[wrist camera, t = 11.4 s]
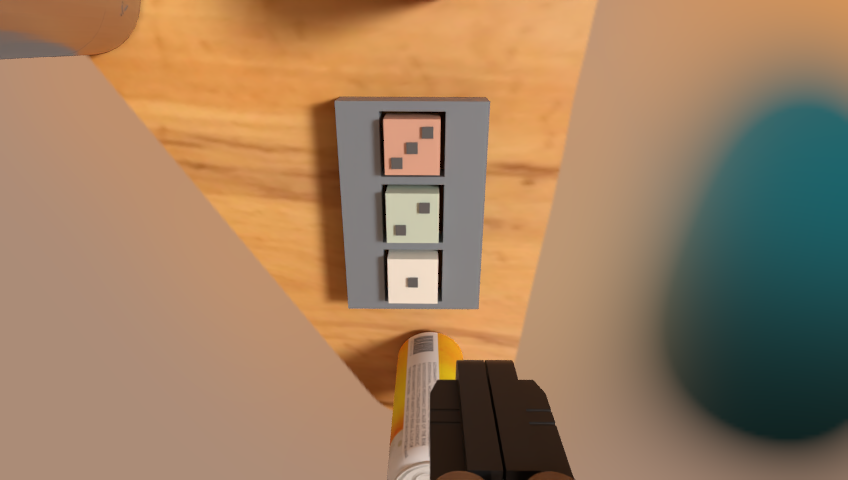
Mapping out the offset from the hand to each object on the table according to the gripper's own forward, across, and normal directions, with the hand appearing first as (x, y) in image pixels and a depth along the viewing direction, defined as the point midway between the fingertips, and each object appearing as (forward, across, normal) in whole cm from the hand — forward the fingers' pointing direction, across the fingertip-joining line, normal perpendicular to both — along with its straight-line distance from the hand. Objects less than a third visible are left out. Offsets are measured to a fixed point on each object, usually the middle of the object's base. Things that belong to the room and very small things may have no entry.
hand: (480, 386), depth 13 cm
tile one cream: (+26, +2, +9) cm, 28 cm away
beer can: (+27, +1, +19) cm, 33 cm away
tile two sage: (+26, +3, +4) cm, 27 cm away
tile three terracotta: (+26, +3, -1) cm, 26 cm away
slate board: (+27, +2, +4) cm, 27 cm away
